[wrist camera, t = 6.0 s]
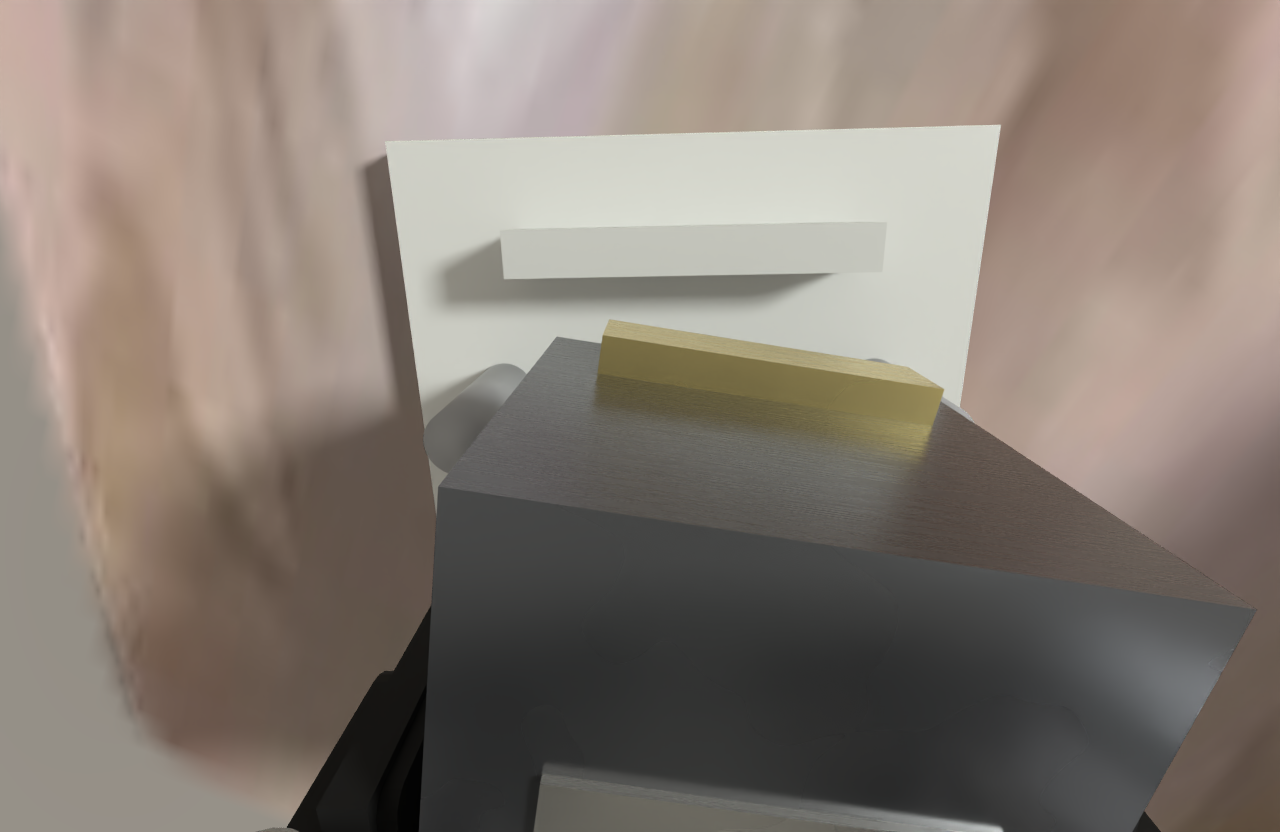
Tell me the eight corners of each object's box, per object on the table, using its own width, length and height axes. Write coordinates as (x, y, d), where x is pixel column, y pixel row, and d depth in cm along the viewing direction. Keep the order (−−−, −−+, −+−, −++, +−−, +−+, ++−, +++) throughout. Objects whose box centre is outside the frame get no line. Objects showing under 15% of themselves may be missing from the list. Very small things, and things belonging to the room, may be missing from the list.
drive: (787, 848, 13) (882, 1296, 8) (503, 809, 13) (393, 1240, 7) (942, 365, 10) (1304, 558, 4) (560, 304, 9) (436, 425, 4)
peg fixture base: (897, 728, 20) (970, 885, 15) (477, 725, 21) (422, 876, 16) (978, 130, 15) (1131, 89, 10) (402, 146, 15) (284, 114, 10)
